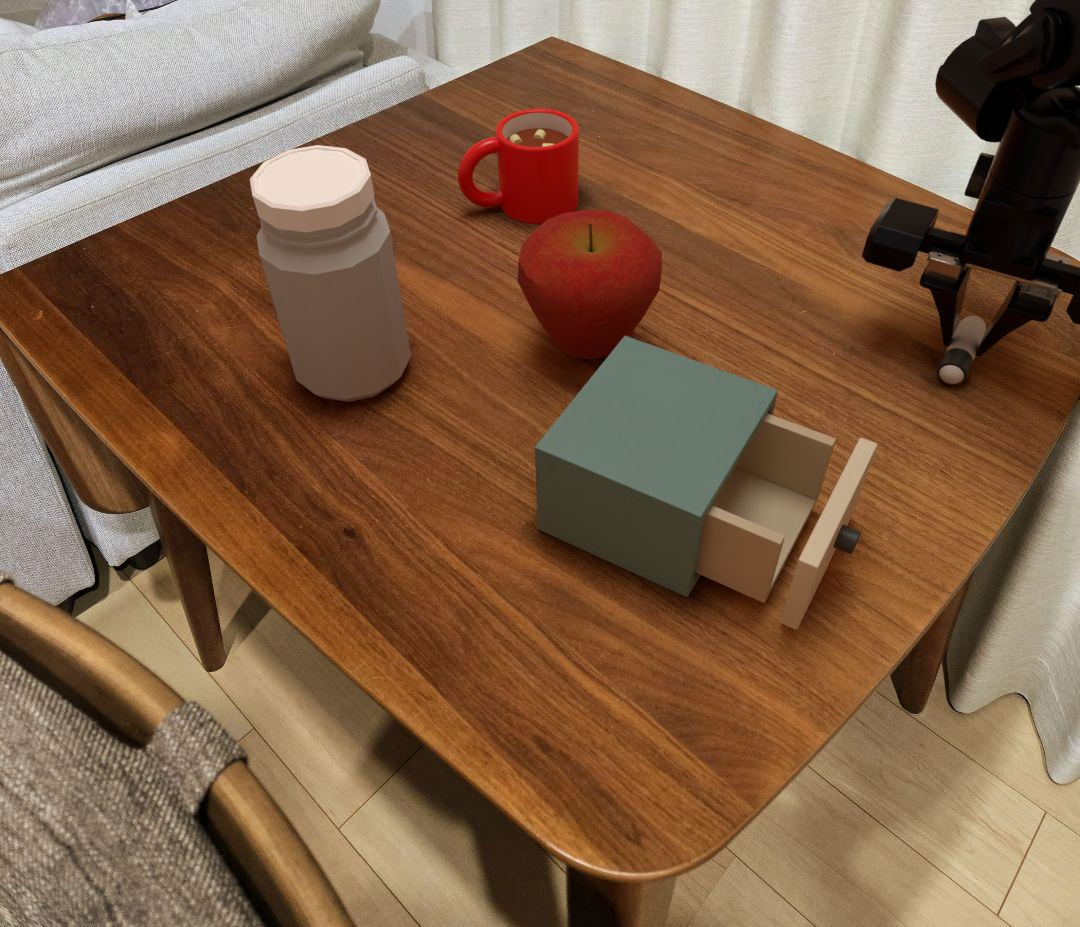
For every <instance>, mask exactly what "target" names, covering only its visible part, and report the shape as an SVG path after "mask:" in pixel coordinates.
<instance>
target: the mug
mask: <svg viewBox="0 0 1080 927" xmlns="http://www.w3.org/2000/svg"><path fill="white" fill-rule="evenodd" d="M492 154H496V156H497V170H498V171H497V172H498V187H499V189H498V190H495V191H483V190H481V189H479V188H478V187H477V186H476V185H475V182H474V179H473V178H474V177H473V175H474V173H475V169H476V167H477V166H478V164H479V163H480V162H481V161H483V159H484V158H486V157H488V156H489V155H492ZM579 154H580V129H579V124H578V122H577V120H575V119H574V118H573V117H572V116H570V114H567V113H565V112H562V111H559V110H556V109H552V108H551V109H550V108H528V109H522V110H519V111H516V112H513V113H509V114H508V115H506V116H505V117H504V118H502V119H500V121H499V122H498V124H496V128H495V136H492V137H487V138H484V139H482V140H480V141H478V142H476V143H475V144H473V145H472V146H471V147H470V148H469V149H468V150H467V151H466V152H465V154H464V155H463V157H462V159H461V160H460V163H459V165H458V170H457V182H458V187H459V190H460V191H461V194H462V195H463V196H464V198H465V199H466V200H468V201H469V202H470V203H472V204H474V205H476V206H479V207H483V208H495V207H496V208H497V207H501V210H502V211H503V213H504V214H505V215H507V216H508V217H509V218H511V219H513V220H514V221H515V220H516V221H519V222H522V223H526V224H539V225H541V224H542V223H544V222H545V221H546V220H547V219H550V218H552V217H555V216H558V215H560V214H563V213H567V212H575V211H576V209H577V207H578V205H579V186H580V184H579V179H580V178H579V176H580V175H579V174H580V173H579V172H580V171H579V170H580V167H579V166H580V165H579V164H580V160H579V159H580V155H579Z"/></svg>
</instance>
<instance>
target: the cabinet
mask: <svg viewBox="0 0 1080 927" xmlns="http://www.w3.org/2000/svg"><path fill="white" fill-rule="evenodd" d="M778 393H779V390H778V389H776V388H773V387H770V386H768V385H765V384H762V383H759V382H756V381H754V380H751V379H749V378H745V377H742V376H739V375H737V374H734V373H731V372H729V371H727V370H726V371H725V370H723V369H721V368H717V367H715V366H711V365H709V364H706V363H703V362H700V361H697V360H694V359H692V358H689V357H687V356H683V355H680V354H679V353H676V352H672V351H670V350H667V349H664V348H661V347H658V346H656V345H653V344H650V343H647V342H644V341H641V340H639V339H636V338H634V337H631V336H630V337H628V336H624V337H623V339H622V340H621V341H620V342H619V343H618V345H617V346H616V347H615V348H614V350H613V351H612V352H611V353H610V355H609V356H608V357H605V359H604V361H603V362H602V363H601V365H599V367H598V368H597V370H596V371H595V372H594V373H593V374H592V376H591V377H590V378H589V379H588V380H587V381H586V382H585V384H584V385H583V387H582V388H581V389H580V390H579V391H578V392H577V394H576V395H575V397H574V398H573V399H572V400H571V402H570V403H569V404H568V405H567V407H566V408H565V409H564V410H563V412H562V413H561V414H560V415H559V416H558V418H557V419H556V420H555V421H554V423H553V424H552V425H551V426H550V428H549V429H548V430H547V431H546V433H545V434H544V435H543V436H542V437H541V439H540V440H539V441H538V443H537V444H535V446H534V464H535V488H536V489H535V490H536V491H535V492H536V493H535V494H536V512H537V513H536V516H537V530H538V531H540V532H543V533H544V534H547V535H550V536H552V537H553V538H556V539H558V540H560V541H562V542H564V543H567V544H569V545H571V546H573V547H575V548H578V549H580V550H582V551H584V552H586V553H589V554H591V555H593V556H595V557H597V558H599V559H602V560H604V561H606V562H609V563H610V564H613V565H615V566H617V567H619V568H621V569H624V570H626V571H629V572H630V573H633V574H635V575H636V576H639V577H641V578H643V579H646V580H648V581H650V582H652V583H654V584H657V585H659V586H661V587H663V588H665V589H667V590H670V591H672V592H674V593H676V594H679V595H680V596H683V597H685V598H688V597H689V596H690V594H691V593H692V591H693V589H694V587H695V586H696V584H697V582H698V581H699V579H700V577H701V575H700V574H698V573H695V570H696V564H697V558H698V553H699V547H700V541H701V535H702V529H703V523H704V517H705V515H706V513H707V512H708V510H709V508H710V507H711V505H712V504H713V502H714V500H715V499H716V497H717V495H718V494H719V492H720V490H721V489H722V487H723V485H724V484H725V482H726V480H727V479H728V477H729V476H730V474H731V472H732V471H733V469H734V467H735V466H736V464H737V462H738V461H739V459H740V457H741V456H742V454H743V452H744V451H745V449H746V448H747V446H748V444H749V443H750V441H751V439H752V438H753V436H754V434H755V433H756V431H757V429H758V428H759V426H760V424H761V423H762V421H763V420H764V418H765V416H766V415H767V413H768V414H771V415H773V416H774V411H775V407H776V402H777V398H778Z"/></svg>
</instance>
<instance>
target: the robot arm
mask: <svg viewBox="0 0 1080 927" xmlns="http://www.w3.org/2000/svg"><path fill="white" fill-rule="evenodd" d="M1029 13H1030V14H1028V15H1027V16H1026V17H1024V19H1023V20H1021V21H1020V22H1019V24H1018V25H1016V24H1015V23H1014V22H1013V21H1012V20H1010V18H1008V17H1007V16H999V17H991V18H990V17H989V18H983V19H982V18H981V19H980V20H979V21H978V23H977V26H976V28H975V32H974V34H973V35H971V36H970V37H968V38H967V39H965V40H964V41H962V42H961V43H960V44H958V45H957V46H956V47H955V48H954V49H953V50H952V51H951V52H950V53H949V55H948V56H947V58H946V59H945V60H944V62H943V63H942V64H941V65H940V66H939V67H938V70H937V73H936V76H935V83H934V85H935V92H936V95H937V97H938V99H939V100H940V101H941V102H942V104H944V105H945V106H946V107H947V108H948V109H949V110H950V111H951V112H952V113H953V114H954V115H955V116H956V117H957V118H959V120H961V122H962V123H964V124H965V125H966V127H968V128H969V129H970V130H971V131H972V132H973V133H974V134H975V136H977V137H978V138H979V139H980V140H981V141H984V142H987V143H996V144H997V143H998V146H997V148H996V151H995V153H994V154H990V153H987V152H980V153H979V155H978V157H977V160H976V162H975V164H974V167H973V170H972V171H971V174H970V177H969V179H968V182H967V185H966V188H965V189H964V193H963V194H964V196H965V197H969V198H972V199H975V200H978V201H977V203H976V205H975V208H974V210H973V212H972V217H971V219H970V221H969V225H968V227H967V229H966V232H965V234H963V233H958V232H955V231H951V230H944V229H940V228H937V227H935V226H936V223H937V220H938V216H939V214H940V213H939V212H940V209H939V208H936V207H932V206H928V205H925V204H920V203H917V202H913V201H911V200H910V201H909V200H906V199H902V198H898V197H895V198H893V199H892V200H890V201H888V202H886V203H885V205H884V206H883V207H882V209H881V211H880V213H879V214H878V216H877V217H876V219H875V221H874V222H873V224H872V226H871V227H870V229H869V231H868V234H867V236H866V239H865V242H864V246H863V250H862V253H861V258H862V259H863V260H864V261H865V262H866V263H867V264H872V265H875V266H879V267H881V268H885V269H889V270H892V271H895V272H897V273H899V272H903V271H904V270H907V269H909V268H912V267H913V266H914V264H915V263H916V259H917V256H918V253H919V252H920V253H924V254H927V255H928V256H927V258H926V261H927V265H925V268H924V270H923V272H922V274H921V275H920V278H919V281H918V283H919V285H920V286H921V287H922V288H924V289H926V290H929V291H930V293H931V295H932V299H933V301H934V304H935V307H936V310H937V313H938V318H939V324H940V330H941V331H940V332H941V339H942V342H943V343H942V344H943V346H944V347H947V348H948V347H949V345H950V343H951V340H952V338H953V336H954V333H955V331H956V329H957V327H958V324H959V323H960V322H959V321H960V317H961V314H962V309H963V304H964V300H965V295H966V292H967V287H968V283H969V279H970V276H971V272H972V269H973V270H976V271H981V272H984V273H988V274H990V275H991V274H992V275H995V276H999V277H1002V278H1006V279H1009V280H1013V281H1015V282H1014V284H1013V285H1012V287H1011V289H1010V290H1009V292H1008V294H1007V296H1006V297H1005V299H1004V300H1003V302H1002V304H1001V305H1000V306H999V308H998V310H997V312H996V313H995V315H994V316H993V318H992V320H991V322H990V323H989V325H988V327H986V331H985V333H984V335H983V338H982V340H981V342H980V345H979V347H978V349H977V352H976V354H975V355H976V356H975V357H979V358H980V357H982V356H984V354H986V352H988V351H989V350H991V348H993V347H994V346H995V345H997V344H998V343H999V342H1000V341H1002V340H1003V339H1004V338H1005V337H1007V335H1009V334H1010V333H1012V332H1014V331H1016V330H1018V329H1019V328H1021V327H1022V326H1024V325H1026V324H1028V323H1029V322H1031V321H1035V322H1038V323H1045V322H1047V321H1049V319H1050V316H1051V314H1052V313H1053V309H1054V305H1055V303H1056V301H1057V299H1060V297H1061V295H1062V293H1065V294H1069V295H1072V297H1071V299H1070V301H1069V303H1068V305H1067V307H1066V310H1065V312H1066V313H1067V315H1068V316H1069V318H1070V320H1071V321H1072V323H1073V324H1074V325H1075V324H1076V325H1079V326H1080V266H1076V265H1072V264H1071V263H1072V259H1071V258H1069V257H1066V256H1062V255H1059V254H1055V253H1052V252H1049V251H1050V248H1051V247H1052V244H1053V242H1054V240H1055V238H1056V236H1057V233H1058V231H1059V229H1060V227H1061V224H1062V222H1063V220H1064V218H1065V215H1066V214H1067V211H1068V209H1069V207H1070V205H1071V202H1072V200H1073V198H1074V196H1075V194H1076V191H1077V189H1078V187H1079V184H1080V0H1034V1H1033V2H1032V3H1031V5H1030V6H1029Z"/></svg>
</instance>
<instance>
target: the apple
mask: <svg viewBox="0 0 1080 927" xmlns="http://www.w3.org/2000/svg"><path fill="white" fill-rule="evenodd" d="M517 260H518V262H517V263H518V265H517V284H518V285H519V288H520V289H521V291H522V294H523V295H524V297H525V300H526V302H527V303H528V306H529V307H530V310H531V311H532V312H533V314H534V316H535V317H536V319H537V321H538V323H539V324H540V325H541V327H542V328H543V330H544V331H545V333H546V334H547V335H548V337H549V339H550V340H551V342H552V344H554V345H555V346H556V347H557V348H558V349H559V350H560V351H562V352H563V353H564V354H567V355H570V356H572V357H574V358H578V359H585V360H597V359H602V358H607V357H608V356H609V355H610V353H611V352H612V351H613V350H614V348H615V347H616V346H617V345H618V343H619V342H620V341H621V340H622V339H623V337H624V336H628V337H630V338H631V336H632V334H633V333H634V331H635V330H636V329H637V327H638V326H639V324H640V323H641V322H642V320H643V319H644V317H645V316H646V314H647V313H648V310H649V309H650V307H651V305H653V304H652V303H653V302H654V300H655V299H656V297H657V296H658V294H659V292H660V288H661V280H662V274H663V272H662V271H663V252H662V250H661V249H660V247H659V246H658V245H657V243H656V242H655V241H654V240H653V238H652V237H651V236H649V235H648V234H647V233H646V232H645V231H644V230H643V229H642V228H641V227H639V226H638V225H637V224H635V223H634V222H633V221H631V219H629V218H628V217H626V216H624V215H621V214H618V213H615V212H613V211H611V210H607V209H606V210H605V209H604V210H603V209H601V210H600V209H584V210H574V211H573V212H567V213H563V214H560V215H558V216H555V217H552V218H550V219H547V220H546V221H545V222H544V223H540V224H539V225H538V227H536V228H535V230H534V231H532V232H531V233H530V234H529V236H528V237H526V239H525V240H524V241H523V242H522V243H521V248H520V252H519V256H518V259H517Z"/></svg>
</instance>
